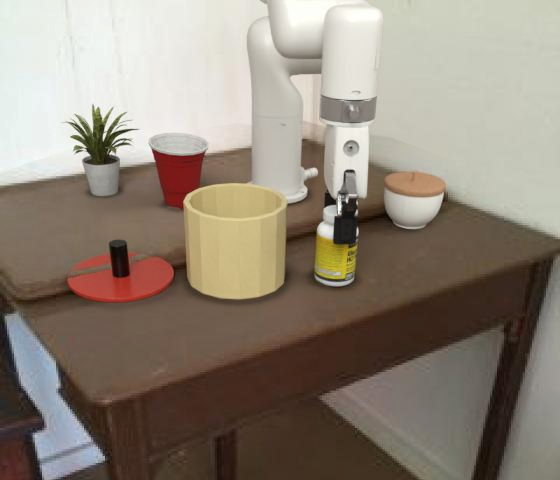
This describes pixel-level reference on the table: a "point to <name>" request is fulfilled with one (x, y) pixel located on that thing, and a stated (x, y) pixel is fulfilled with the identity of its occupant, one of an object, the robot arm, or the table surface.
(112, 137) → the house plant
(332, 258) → the pill bottle
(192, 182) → the plastic cup
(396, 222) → the trinket box
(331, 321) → the table surface
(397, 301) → the table surface
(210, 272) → the tin
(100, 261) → the lid
